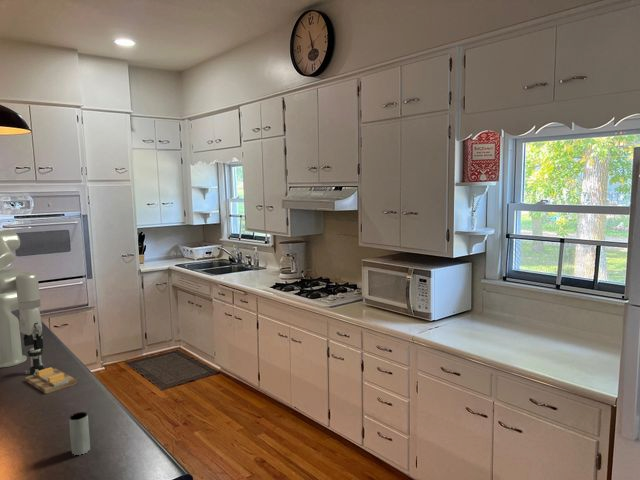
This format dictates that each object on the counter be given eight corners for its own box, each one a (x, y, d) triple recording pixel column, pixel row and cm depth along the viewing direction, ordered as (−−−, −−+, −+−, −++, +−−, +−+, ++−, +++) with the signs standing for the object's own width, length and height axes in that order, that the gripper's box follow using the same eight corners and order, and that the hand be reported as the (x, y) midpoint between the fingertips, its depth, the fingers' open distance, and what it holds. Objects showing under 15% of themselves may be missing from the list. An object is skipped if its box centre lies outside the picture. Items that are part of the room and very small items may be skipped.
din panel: (25, 381, 180) (25, 377, 179) (56, 372, 188) (55, 368, 188) (45, 393, 168) (45, 389, 167) (77, 383, 176) (76, 379, 176)
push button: (25, 377, 184) (23, 352, 183) (25, 372, 188) (23, 348, 187) (44, 373, 187) (42, 349, 186) (44, 369, 192) (42, 345, 191)
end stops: (37, 374, 179) (36, 371, 179) (51, 370, 183) (50, 367, 183) (50, 382, 172) (49, 378, 172) (64, 378, 176) (64, 374, 176)
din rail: (33, 374, 182) (33, 372, 182) (47, 370, 186) (47, 368, 186) (54, 386, 170) (54, 384, 170) (68, 382, 174) (68, 380, 174)
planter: (76, 447, 131) (73, 412, 130) (92, 446, 132) (90, 411, 130) (69, 456, 127) (65, 420, 126) (86, 455, 127) (83, 419, 126)
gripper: (10, 304, 187) (15, 346, 189) (27, 309, 176) (31, 353, 178) (31, 300, 193) (35, 341, 194) (48, 305, 182) (52, 348, 183)
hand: (33, 347), depth 186 cm, fingers open, 9 cm apart
